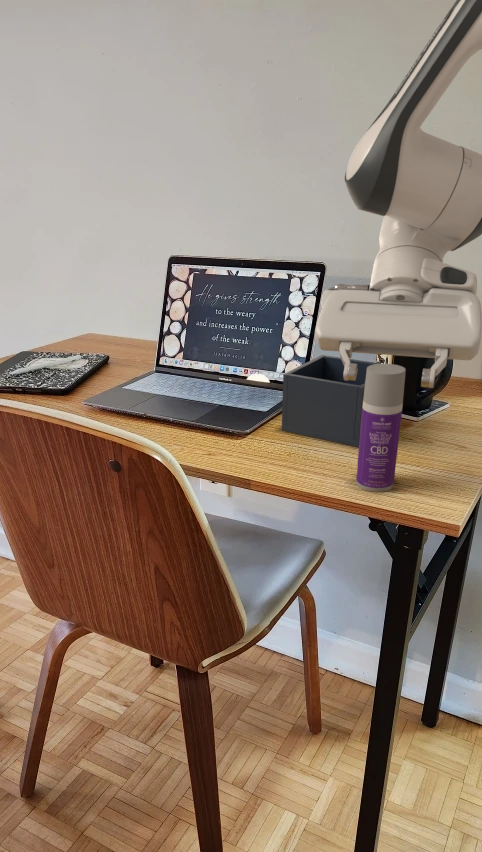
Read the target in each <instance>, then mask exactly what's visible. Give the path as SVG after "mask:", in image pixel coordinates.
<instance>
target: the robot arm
mask: <svg viewBox="0 0 482 852" xmlns="http://www.w3.org/2000/svg"><path fill="white" fill-rule="evenodd" d="M481 50H482V0H455V2H454V3H453V5H452V6H451V7H450V9H449V10H448V12H447V13H446V14H445V17H444V18H443V19H442V20H441V22H440V24H439V25H438V27H437V28H436V30H435V31H434V32H433V34H432V36H431V37H430V39H429V40H428V42H427V43H426V45H425V46H424V47H423V49H422V50H421V52H420V54H419V55H418V57H417V59H416V60H415V62H414V63H413V65H412V66H411V67H410V69H409V70H408V72H407V74H406V75H405V77H404V78H403V79H402V81H401V82H400V84H399V86H398V87H397V89H396V90H395V92H394V93H393V95H392V96H391V98H390V99H389V101H388V102H387V104H386V105H385V106H384V107H383V109H382V110H381V112H380V113H379V114H378V116H377V117H376V118H375V119H374V121H373V122H372V123H371V124H370V126H369V127H368V129H367V130H366V132H365V133H364V134H363V135H362V136H361V138H360V139H359V141H358V142H357V143H356V145H355V147H354V148H353V151H352V152H351V154H350V157H349V159H348V162H347V166H346V170H345V174H344V182H345V186H346V189H347V192H348V194H349V196H350V198H351V201H352V202H353V204H354V205H355V207H356V208H357V209H358V210H359V211H363V212H367V213H370V214H375V215H376V216H377V215H378V216H382V217H383V218H382V221H381V226H380V230H379V235H378V236H379V237H378V238H379V239H378V243H379V249H378V250H379V251H378V252H377V254H376V256H375V259H374V261H373V267H372V272H371V276H370V282H369V284H345V283H336V284H335V285H334V286H332V287H329V288H327V289H325V290H324V292H323V293H322V295H321V298H320V299H321V300H320V304H319V307H320V313H319V316H318V318H317V321H316V325H315V329H314V337H315V342H316V344H317V346H318V347H319V349H320V350H322V351H328V352H339V357H340V358H341V360H342V362H343V365H344V367H345V368H344V374H343V377H344V380H345V381H356V375H357V372H358V368H357V364H356V363H351V362H350V360H349V359H352V356H353V353H355V354H357V353H358V354H370V355H384V356H385V355H387V356H398V357H411V358H412V357H414V358H426V359H427V358H428V359H434V363H433V364H432V366H431V367H430V368H423V369H422V375H421V381H420V387H421V388H430V389H434V386H435V379H436V377H437V376H438V375H439V374H440V373H441V372H442V371H443V370H444V368H446V367H447V363H448V360H456V361H472V360H473V359H474V358H476V357H477V356H478V354H479V352H480V347H481V341H482V305H481V301H480V299H479V297H478V296H477V292H478V278H477V275H476V273H474V272H472V271H469V270H466V269H463V268H459V267H456V266H453V265H450V264H447V263H445V262H444V258H445V255H446V254H447V253H448V252H454V251H456V250H459V249H460V248H462V247H464V246H466V245H467V244H469V243H470V242H472V241H475V240H476V239H478V238H479V237H480V236H482V154H481V153H479V152H476V151H474V150H472V149H470V148H467V147H464V146H461V145H457V144H454V143H452V142H451V141H447V140H445V139H442V138H440V137H437V136H435V135H432V134H430V133H428V132H425V131H423V130H422V128H421V127H422V126H423V124H424V123H425V121H426V119H427V118H428V117H429V115H430V113H432V111H433V109H434V108H435V106H436V105H437V104H438V103H439V101H440V99H441V97H443V95H444V94H445V93H446V91H447V89H448V88H449V87H450V85H451V84H452V83H453V81H454V79H455V78H456V77H457V76H458V74H459V73H460V71H461V70H462V68H463V67H464V66H465V65H466V64H467V62H468V61H469V60H470V58H471V57H473V56H474V55H475V54H477V53H478V52H479V51H481Z"/></svg>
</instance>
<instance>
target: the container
mask: <svg viewBox="0 0 482 852" xmlns="http://www.w3.org/2000/svg"><path fill="white" fill-rule="evenodd" d="M406 371H407V369H406V367H404V366H402V365H398V364H395V363H394V364H393V363H381V364H374V365H370V366H368V367H367V372H366V380H365V389H364V398H363V406H362V417H361V428H360V440H359V447H358V453H357V465H356V476H355V484H356V486H357V487H358V488H360V489H361V490H364V491H368V492H372V493H373V492H375V493H381V492H387V491H390V490H391V489H393V487H394V484H395V475H396V467H397V459H398V449H399V440H400V431H401V423H402V415H403V405H404V395H405V381H406V373H407V372H406Z"/></svg>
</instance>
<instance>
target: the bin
mask: <svg viewBox="0 0 482 852" xmlns="http://www.w3.org/2000/svg"><path fill="white" fill-rule="evenodd" d="M349 360H350V362H351V363H356V364H357V368H358V372H357V375H356V381H345V380H344V377H343V374H344V368H345V367H344V365H343V362H342V360H341V358H340V356H332V355H325V354H320V355H319V356H317V357H315V358H313V359H311V360H309V361H307V362H305V363H303V364H301V365H299V366H297V367H294V368H293V369H291V370H289V371H288V372H284V373H282V374H283V375H282V401H281V402H282V406H281V407H282V409H281V431H283V432H288V433H292V434H297V435H302V436H307V437H311V438H315V439H320V440H325V441H330V442H334V443H339V444H343V445H346V446H347V445H348V446H352V447H357V448H359V440H360V428H361V417H362V406H363V398H364V389H365V380H366V372H367V367H368V366H370V365H374V364H382V363H381V362H375V361H374V362H373V361H366V360H359V359H352V358H349Z"/></svg>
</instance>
